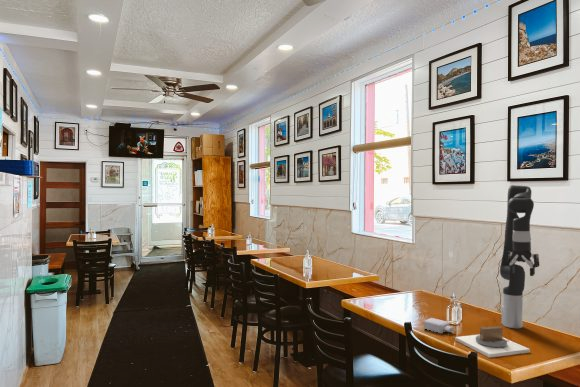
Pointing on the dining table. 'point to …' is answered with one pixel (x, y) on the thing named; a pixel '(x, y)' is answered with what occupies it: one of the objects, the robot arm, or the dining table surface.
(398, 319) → the dining table surface
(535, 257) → the robot arm
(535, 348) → the dining table surface
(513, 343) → the dial plate
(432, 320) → the grey elongated piece
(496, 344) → the dial
